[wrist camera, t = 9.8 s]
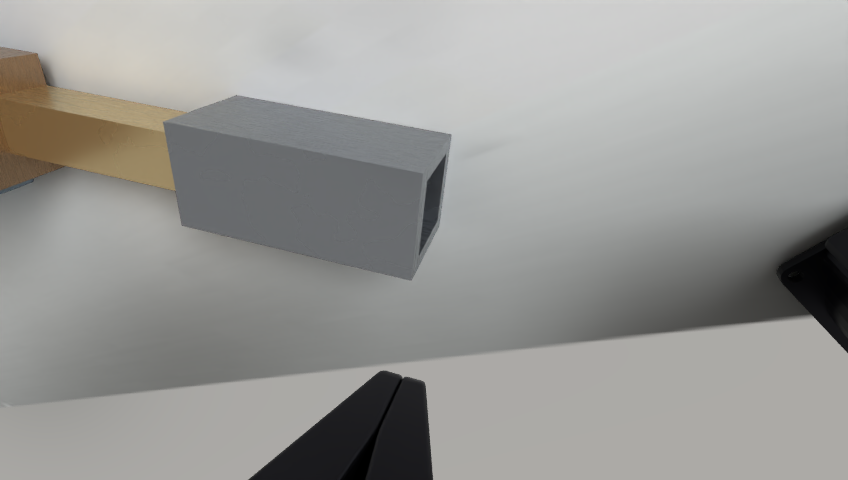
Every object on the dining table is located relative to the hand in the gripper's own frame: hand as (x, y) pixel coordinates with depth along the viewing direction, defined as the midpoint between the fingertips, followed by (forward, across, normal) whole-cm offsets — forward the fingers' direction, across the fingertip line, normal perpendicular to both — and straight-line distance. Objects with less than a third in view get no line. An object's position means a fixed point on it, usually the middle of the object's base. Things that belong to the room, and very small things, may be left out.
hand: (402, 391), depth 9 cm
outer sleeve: (+13, +7, +1) cm, 15 cm away
